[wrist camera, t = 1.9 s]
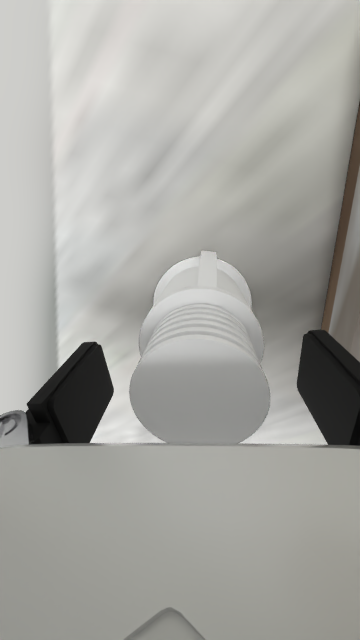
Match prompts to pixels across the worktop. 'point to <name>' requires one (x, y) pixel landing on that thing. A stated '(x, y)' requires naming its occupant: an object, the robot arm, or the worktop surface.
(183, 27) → the worktop surface
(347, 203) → the silver picture frame
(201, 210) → the worktop surface
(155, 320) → the downlight
